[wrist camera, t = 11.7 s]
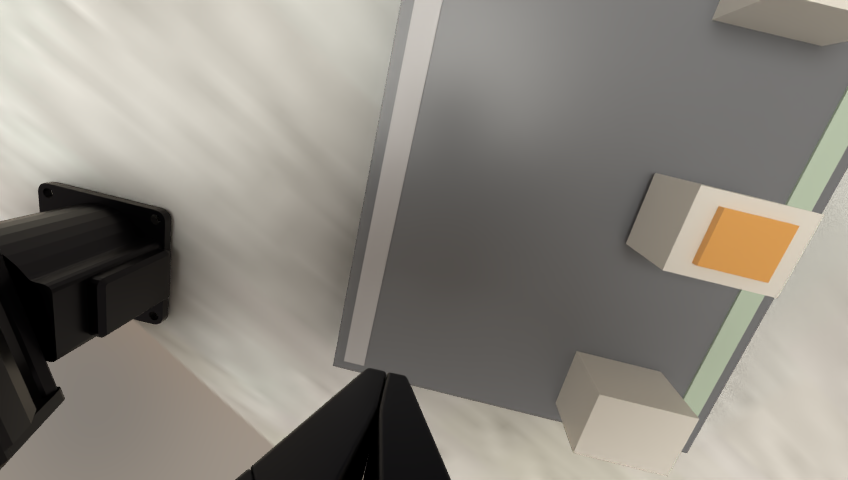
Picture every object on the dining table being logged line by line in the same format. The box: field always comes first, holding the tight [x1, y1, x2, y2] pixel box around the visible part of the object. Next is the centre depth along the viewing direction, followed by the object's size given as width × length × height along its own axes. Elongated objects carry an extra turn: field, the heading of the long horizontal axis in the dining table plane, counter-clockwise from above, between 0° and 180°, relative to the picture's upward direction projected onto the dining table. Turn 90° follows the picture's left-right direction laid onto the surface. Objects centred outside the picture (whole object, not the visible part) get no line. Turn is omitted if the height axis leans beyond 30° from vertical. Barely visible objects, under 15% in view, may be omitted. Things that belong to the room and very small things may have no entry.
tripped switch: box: [626, 173, 824, 298], centre depth 14 cm, size 4×3×3 cm
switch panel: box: [333, 0, 848, 476], centre depth 16 cm, size 18×22×5 cm
